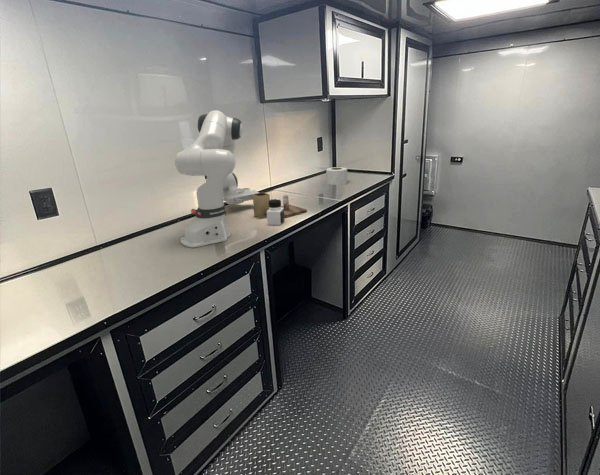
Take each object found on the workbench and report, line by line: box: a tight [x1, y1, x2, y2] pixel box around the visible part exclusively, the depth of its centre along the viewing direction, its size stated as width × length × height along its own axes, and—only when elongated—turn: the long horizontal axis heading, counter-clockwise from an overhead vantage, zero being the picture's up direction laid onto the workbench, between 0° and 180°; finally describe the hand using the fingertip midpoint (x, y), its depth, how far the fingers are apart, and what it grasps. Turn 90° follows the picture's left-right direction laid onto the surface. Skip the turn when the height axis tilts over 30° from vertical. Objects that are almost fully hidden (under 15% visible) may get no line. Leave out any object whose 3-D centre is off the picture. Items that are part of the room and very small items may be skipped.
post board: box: [281, 194, 308, 219], centre depth 188 cm, size 16×16×10 cm
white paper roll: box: [325, 166, 348, 186], centre depth 256 cm, size 16×15×11 cm
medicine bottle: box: [266, 198, 286, 226], centre depth 171 cm, size 7×7×12 cm
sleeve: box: [252, 192, 271, 220], centre depth 183 cm, size 6×8×12 cm
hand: (249, 199), depth 191 cm, fingers open, 8 cm apart
